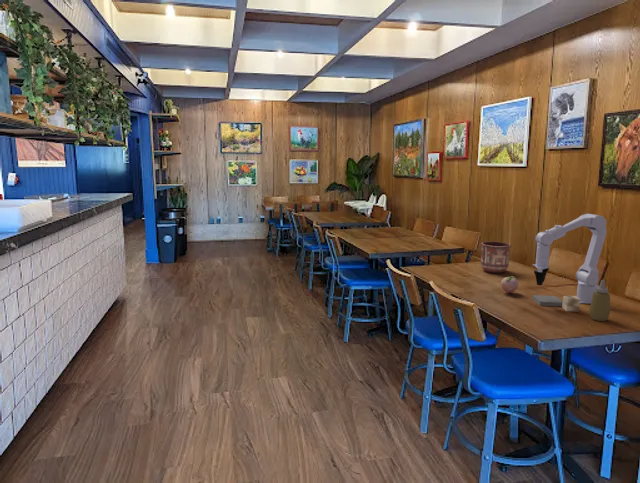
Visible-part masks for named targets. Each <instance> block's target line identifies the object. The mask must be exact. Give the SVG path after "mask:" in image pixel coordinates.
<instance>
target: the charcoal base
mask: <svg viewBox="0 0 640 483" xmlns="http://www.w3.org/2000/svg"><path fill="white" fill-rule="evenodd" d="M532 300H533V301H534V302H535V303H536V304H538V305H539V306H543V307H562V303H563V300H562V299H560V298H559V297H557V296H556V295H541V294H539V295H538V294H532Z"/></svg>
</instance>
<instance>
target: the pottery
mask: <svg viewBox="0 0 640 483" xmlns="http://www.w3.org/2000/svg"><path fill="white" fill-rule="evenodd" d="M480 245H481V246H480V247H481V252H480V253H481V255H480V256H481V257H480V266H481V268H482V269H483V271H484V272H486V273H489V274H502V273H504V272H506V271H507V270H508V268H509V261H510V252H511V243H508V242H503V241H490V240H489V241H483V242H481V244H480Z"/></svg>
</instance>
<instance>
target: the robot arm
mask: <svg viewBox="0 0 640 483" xmlns="http://www.w3.org/2000/svg"><path fill="white" fill-rule="evenodd" d="M580 227H586V228H588V229H589V230H590V232H591V233H592V235H591V239H590V242H589V246H588V250H587V252H586V256H585V259H584V262H583V264H582V265H581V266H579V268H578V270H577V271H576V273H575V280H577V288H576V289H577V290H576V297H577V298H579V299H580V304H587V305H588V304H590V305H591V300H592V296H593V293H594V292H596V287H599V286H600V285H599V284H598V283H599V280H600V279H599V274H600V271H599V269H598V268H597V266H598V263H599V259H600V256H601V253H602V250H603V247H604V243H605V239H606V236H607V233H608V232H607V220H606V218H605V217H604V216H602V215H600V214H594V213H593V214H592V213H585V214H581V215H579V217H577V218H575V219H574V220H571V221H570V222H567V223H565V224H564V225H561V224H559V225H558V224H555V225H554V226H553V227H552V228H550V229H546V230H545V231H539V232H538V233H537V235H535V237H534V240H535V242H536V253H535V254H536V256H535V264H534V263H533V264H532V266H533V267H535V268H536V270H535V269H534V270H533V273H534V275H535V279H536V285H537V286H542V285H543V283H544V282H545V281H546V276H547V273H548V271H549V270H550V267H549V262H550V253H551V252H550V249H551V244H552V243H554V241H555V240H559V239H560V238H563V237H565V236H566V233H568V232H570V231H573V230H575V229H577V228H580Z"/></svg>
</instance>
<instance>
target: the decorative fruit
mask: <svg viewBox="0 0 640 483" xmlns="http://www.w3.org/2000/svg"><path fill="white" fill-rule="evenodd" d="M500 282H501V283H500V286H501V289H503V291H504V292H506V293H508V294H512V293H514V292H515V291H516V290H517V289H518V287H519V281H518V279H516V277H515V276H513V275H510V276H507V277H504V278H503V279H501V281H500Z"/></svg>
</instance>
